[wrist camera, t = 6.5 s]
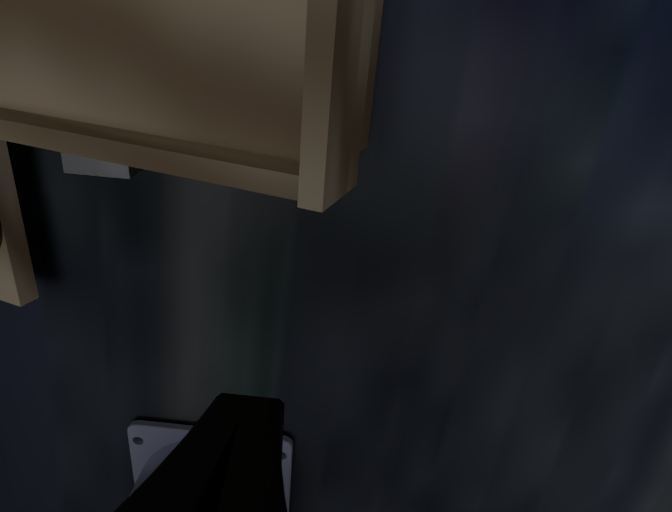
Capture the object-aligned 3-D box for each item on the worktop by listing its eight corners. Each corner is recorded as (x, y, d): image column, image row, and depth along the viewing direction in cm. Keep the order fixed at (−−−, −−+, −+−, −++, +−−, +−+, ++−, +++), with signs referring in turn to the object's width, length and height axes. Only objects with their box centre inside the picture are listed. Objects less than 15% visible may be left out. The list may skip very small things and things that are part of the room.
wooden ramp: (361, 347, 18) (305, 445, 14) (32, 252, 23) (-89, 302, 18) (410, -48, 13) (344, -95, 8) (-34, -66, 17) (-227, -103, 13)
